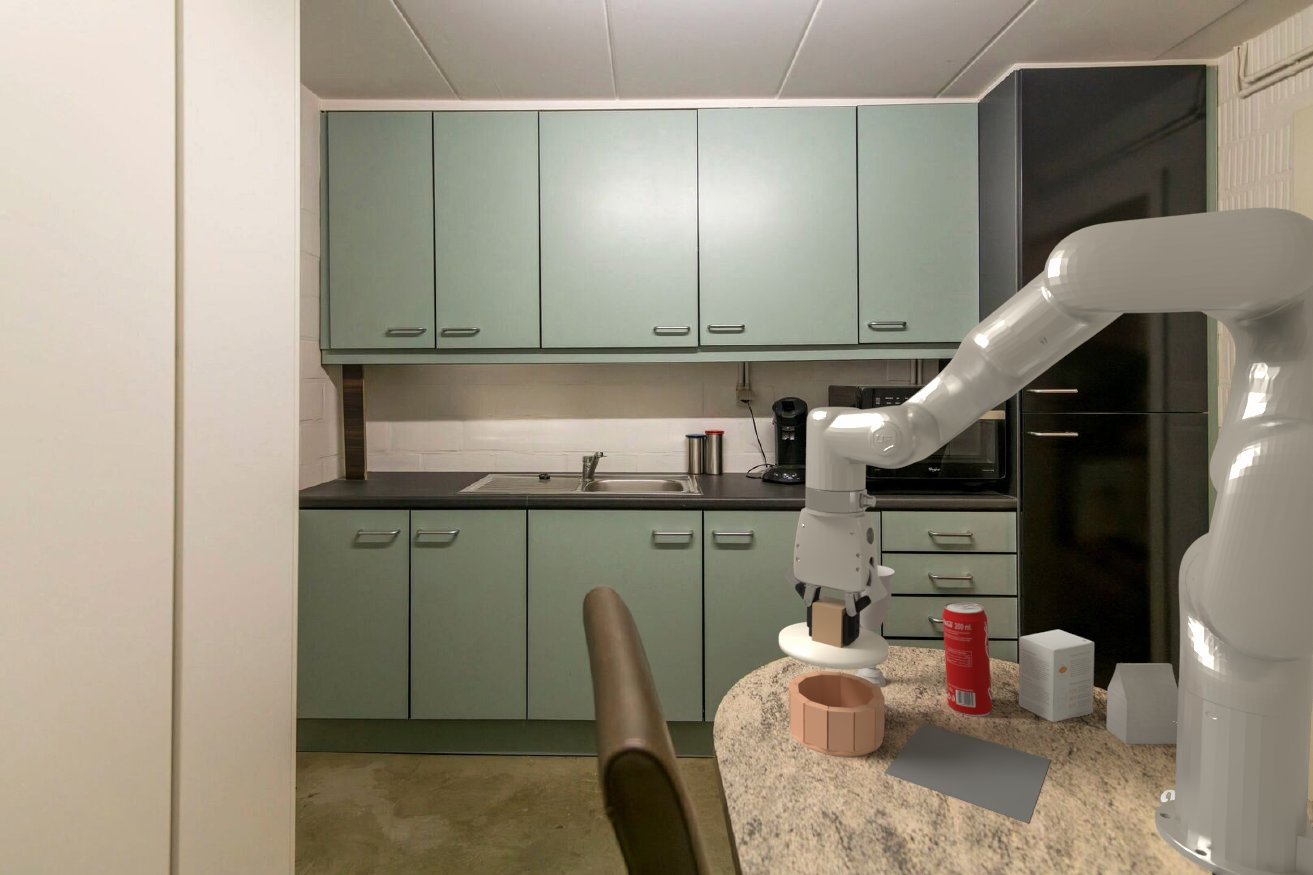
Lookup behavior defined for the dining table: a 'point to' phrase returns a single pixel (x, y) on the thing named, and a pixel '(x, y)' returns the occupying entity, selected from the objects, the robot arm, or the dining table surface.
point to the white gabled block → (1143, 703)
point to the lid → (832, 640)
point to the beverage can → (967, 659)
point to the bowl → (836, 713)
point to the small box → (1056, 675)
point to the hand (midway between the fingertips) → (832, 636)
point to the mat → (972, 770)
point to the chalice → (876, 621)
